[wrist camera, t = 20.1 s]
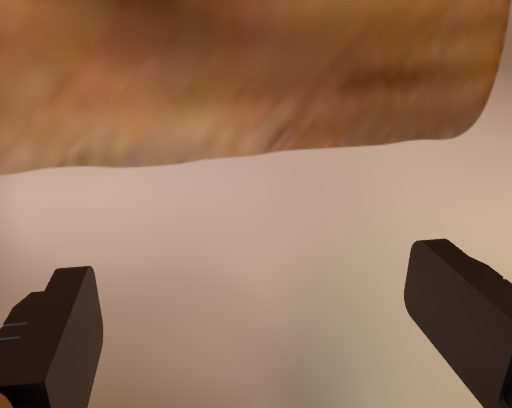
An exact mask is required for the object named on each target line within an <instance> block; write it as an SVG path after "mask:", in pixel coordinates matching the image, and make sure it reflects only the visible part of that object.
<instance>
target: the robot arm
mask: <svg viewBox="0 0 512 408" xmlns="http://www.w3.org/2000/svg"><path fill="white" fill-rule="evenodd" d="M404 301H405V306H406V309H407V311H408V313H409V315H410V316H411V318H412V319H413V320H414V321H415V323H416V324H417V325H418V326H419V328H420V329H421V330H422V331H423V333H424V334H425V335H426V336H427V338H428V339H429V340H430V341H431V343H432V344H433V345H434V346H435V348H436V349H437V350H438V351H439V353H440V354H441V355H442V356H443V358H444V359H445V360H446V361H447V363H448V364H449V365H450V366H451V367H452V369H453V370H454V371H455V372H456V374H457V375H458V376H459V378H460V379H461V380H462V381H463V383H464V384H465V385H466V386H467V387H468V389H469V390H470V391H471V392H472V394H473V395H474V396H475V397H476V399H477V400H478V401H479V402H480V404H481V405H482V406H483V407H484V408H512V283H510V282H509V281H508V280H506V279H503V277H502V276H501V275H500V274H499V273H497V272H496V271H495V270H493V269H492V268H491V267H489V266H488V265H486V264H484V263H482V262H480V261H478V260H476V259H474V258H471V257H469V256H468V255H467V254H465V253H464V252H462V250H460V249H459V248H458V247H456V246H455V245H454V244H453V243H451V242H450V241H449V240H447V239H435V240H420V241H416V242H415V243H414V244H413V245H412V248H411V252H410V258H409V265H408V271H407V277H406V283H405V289H404ZM102 343H103V322H102V315H101V309H100V304H99V298H98V291H97V286H96V279H95V274H94V270H93V268H92V267H91V266H83V267H71V268H58V269H56V270H55V271H54V274H53V275H52V277H51V279H50V281H49V283H48V285H47V287H46V289H45V291H43V292H42V291H41V292H31V293H30V294H29V295H28V296H26V298H24V299H23V300H22V301H21V302H19V303H18V304H17V305H15V306H14V307H13V308H12V310H11V312H10V314H9V315H8V317H7V319H6V320H5V322H4V323H3V327H2V328H1V329H0V408H87V407H88V403H89V399H90V394H91V390H92V386H93V382H94V378H95V374H96V369H97V365H98V361H99V357H100V353H101V349H102Z"/></svg>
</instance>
